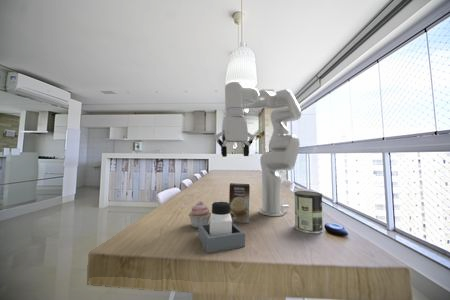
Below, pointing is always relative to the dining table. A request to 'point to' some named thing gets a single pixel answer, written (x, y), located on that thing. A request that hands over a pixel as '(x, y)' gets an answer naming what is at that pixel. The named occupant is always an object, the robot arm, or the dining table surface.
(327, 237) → the dining table surface
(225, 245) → the end holder
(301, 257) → the dining table surface
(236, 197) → the coffee box
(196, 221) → the cupcake
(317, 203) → the coffee can
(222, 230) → the medicine bottle
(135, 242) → the dining table surface
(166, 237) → the dining table surface
